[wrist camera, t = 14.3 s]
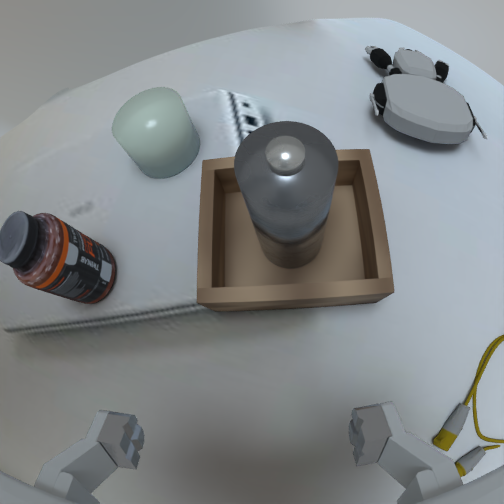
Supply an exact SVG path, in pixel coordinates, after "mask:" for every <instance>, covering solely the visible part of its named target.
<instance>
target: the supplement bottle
mask: <svg viewBox="0 0 504 504" xmlns="http://www.w3.org/2000/svg"><path fill="white" fill-rule="evenodd" d="M0 261H1V262H3V263H4V264H7V265H9V266H10V267H12V268H13V270H14V273H15V275H16V277H17V278H18V279H19V280H20V281H21V282H22V283H23V284H25V285H27V286H30V287H33V288H35V289H38V290H42V291H45V292H48V293H51V294H54V295H57V296H61V297H64V298H67V299H70V300H74V301H78V302H82V303H87V304H91V303H95V302H98V301H99V300H101V299H102V298H103V297H105V296H106V295H107V293H108V292H109V290H110V289H111V287H112V285H113V281H114V278H115V263H114V259H113V257H112V255H111V253H110V252H109V251H108V250H107V249H106V248H105V247H104V246H103V245H101V244H99V243H98V242H96V241H94V240H92V239H91V238H89V237H88V236H86V235H84V234H82V233H81V232H79V231H78V230H76V229H74V228H73V227H71V226H70V225H68V224H67V223H65V222H63V221H61V220H60V219H58V218H57V217H55V216H53V215H51V214H48V213H40V214H36V215H34V216H31V215H28V214H26V213H25V212H22V211H17V212H14V213H13V214H11V215H10V216H9V217H8V218H7V220H6V221H5V223H4V224H3V226H2V228H1V231H0Z"/></svg>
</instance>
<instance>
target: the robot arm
mask: <svg viewBox="0 0 504 504" xmlns="http://www.w3.org/2000/svg"><path fill="white" fill-rule="evenodd" d="M351 415H352V418H353V419H352V420H351V421H350V423H349V439H350V443H351V444H352V445H353V446H355V447H354V451H353V455H354V459H355V463H356V466H360V465H366V464H371V463H376V462H378V464H379V465H380V466H381V467H382V468H383V469H384V470H385V471H387V472H388V473H389V474H390V475H391V476H392V477H393V478H394V479H396V480H397V481H398V482H399V483H400V484H401V485H402V486H403V487H405V488H406V490H405V491H404V493H403V494H402V495H401V496H400V498H399V499H398V500H397V504H504V465H502V466H501V467H499V468H497V469H495V470H493V471H491V472H489V473H487V474H485V475H483V476H481V477H479V478H477V479H475V480H473V481H471V482H469V483H467V484H464V485H463V482H462V480H461V478H460V475H459V473H458V470H457V468H456V466H455V464H454V461H453V459H451V458H449V457H448V456H446V455H445V454H443V453H441V452H440V451H438V450H437V449H435V448H433V447H432V446H430V445H429V444H427V443H426V442H424V441H423V440H421V439H419V438H418V437H416V436H415V435H413V434H412V433H410V432H408V433H406V431H405V429H404V426H403V424H402V421H401V419H400V417H399V414H398V412H397V410H396V407H395V405H394V403H393V402H392V401H390V402H385V403H381V404H374V405H369V406H364V407H358V408H354V409H353V410H352V414H351ZM137 421H138V420H137V418H136V416H135V415H132V414H124V413H118V412H112V411H105V410H99V411H98V412H97V414H96V416H95V418H94V420H93V422H92V425H91V427H90V429H89V431H88V433H87V436H86V438H85V439H81V440H79V441H78V442H76V443H75V444H73V445H72V446H71V447H69V448H68V449H66V450H65V451H63V452H62V453H60V454H59V455H57V456H56V457H54V458H53V459H51V460H50V461H48V462H47V463H45V464H44V465H43V467H42V470H41V472H40V474H39V476H38V478H37V480H36V483H35V485H34V487H33V486H31V485H29V484H27V483H24V482H22V481H20V480H18V479H16V478H14V477H12V476H10V475H8V474H6V473H4V472H2V471H0V504H100V503H99V501H98V500H97V499H96V498H95V497H94V496H93V495H92V494H91V493H92V492H93V491H94V490H95V489H96V488H97V487H98V486H99V485H100V484H101V483H102V482H103V481H104V480H105V479H106V478H107V477H109V476H110V475H111V474H112V473H113V472H114V471H115V470H116V469H117V468H118V467H124V468H131V469H137V466H138V462H139V459H140V455H139V453H138V451H139V450H141V449H142V448H143V445H144V431H143V429H142V427H141V426H139V425H138V424H137ZM117 466H118V467H117Z"/></svg>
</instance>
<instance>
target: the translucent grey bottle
mask: <svg viewBox="0 0 504 504" xmlns="http://www.w3.org/2000/svg"><path fill="white" fill-rule="evenodd" d="M234 171H235V176H236V179H237V181H238V184H239V187H240V190H241V193H242V195H243V198H244V201H245V204H246V207H247V209H248V212H249V215H250V218H251V221H252V223H253V226H254V229H255V232H256V235H257V237H258V240H259V243H260V246H261V249H262V251H263V253H264V255H265V256H266V257H267V259H268V260H269V261H271V262H272V263H273V264H275V265H277V266H279V267H282V268H288V269H294V268H300V267H303V266H305V265H307V264H309V263H310V262H311V261H312V260H313V259H314V258H315V257H316V256H317V255H318V253H319V251H320V249H321V245H322V241H323V237H324V232H325V228H326V224H327V219H328V215H329V211H330V206H331V201H332V197H333V192H334V187H335V183H336V178H337V173H338V156H337V153H336V150H335V148H334V146H333V144H332V143H331V142H330V140H329V139H328V138H327V137H326V136H325V135H324V134H323V133H321V132H320V131H319V130H317V129H315V128H313V127H311V126H309V125H306V124H303V123H299V122H291V121H281V122H274V123H270V124H267V125H264V126H262V127H260V128H258V129H256V130H254V131H253V132H252V133H250V134H249V135H248V136H247V137H246V138H245V139H244V140H243V141H242V143H241V144H240V146H239V147H238V149H237V152H236V155H235V159H234Z"/></svg>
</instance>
